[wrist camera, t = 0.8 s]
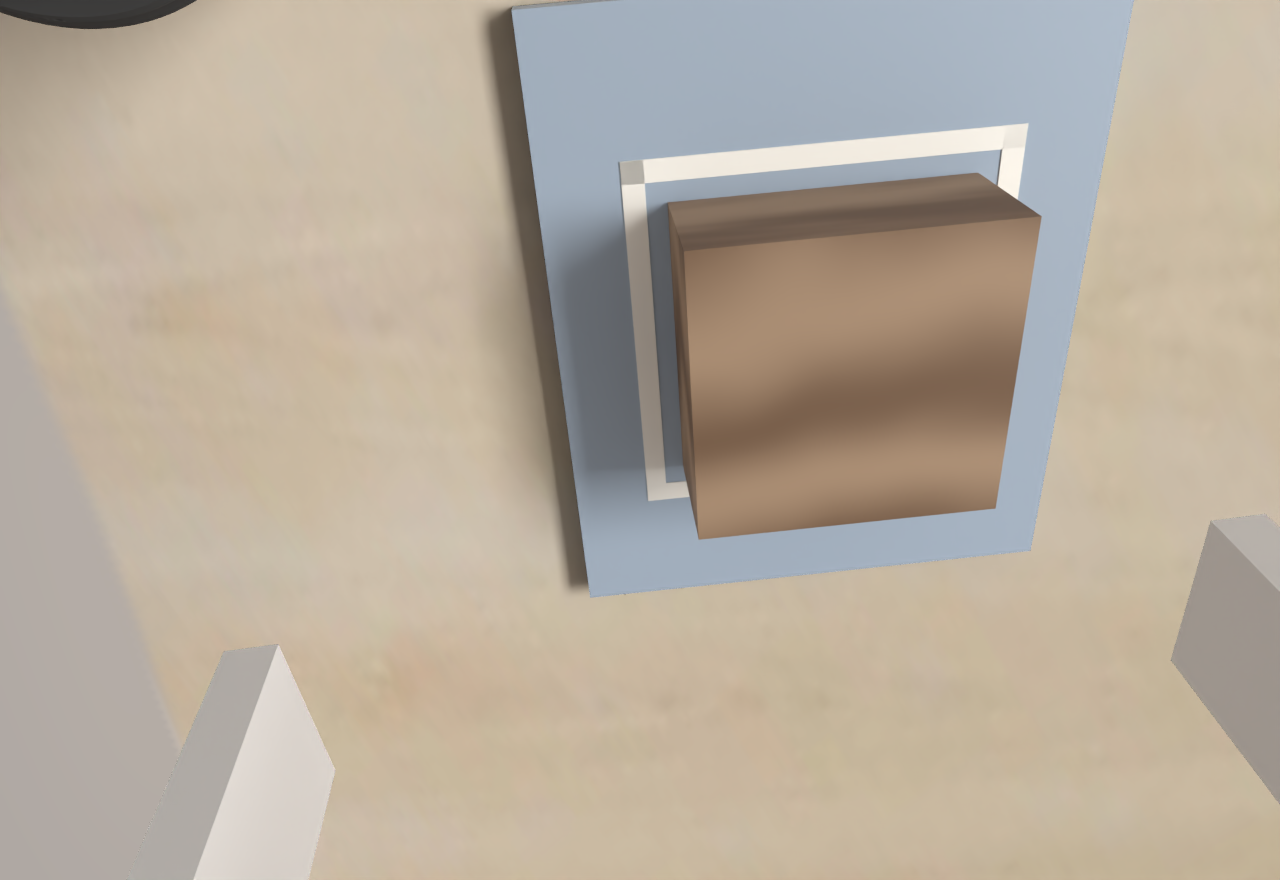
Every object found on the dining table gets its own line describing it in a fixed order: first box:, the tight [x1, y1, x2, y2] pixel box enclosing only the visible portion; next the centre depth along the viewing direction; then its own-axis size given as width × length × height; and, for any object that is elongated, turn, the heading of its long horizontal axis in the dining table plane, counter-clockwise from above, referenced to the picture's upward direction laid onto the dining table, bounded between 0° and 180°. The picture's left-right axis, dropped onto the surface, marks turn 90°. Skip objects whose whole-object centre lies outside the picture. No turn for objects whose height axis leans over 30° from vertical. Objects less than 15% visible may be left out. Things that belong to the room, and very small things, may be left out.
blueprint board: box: [511, 0, 1134, 598], centre depth 35 cm, size 24×20×1 cm
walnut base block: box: [667, 173, 1042, 540], centre depth 33 cm, size 11×11×5 cm
